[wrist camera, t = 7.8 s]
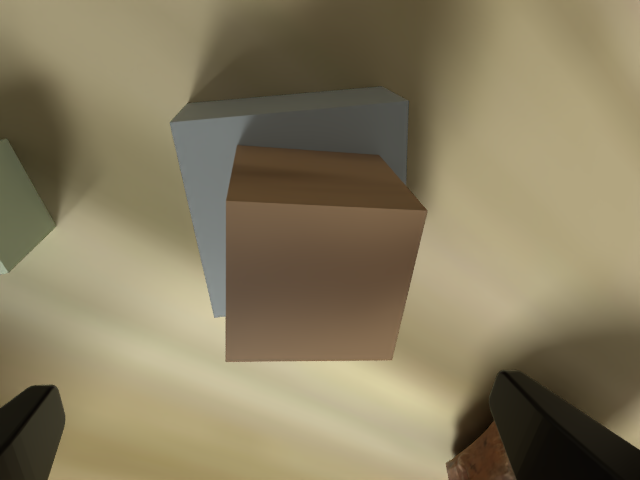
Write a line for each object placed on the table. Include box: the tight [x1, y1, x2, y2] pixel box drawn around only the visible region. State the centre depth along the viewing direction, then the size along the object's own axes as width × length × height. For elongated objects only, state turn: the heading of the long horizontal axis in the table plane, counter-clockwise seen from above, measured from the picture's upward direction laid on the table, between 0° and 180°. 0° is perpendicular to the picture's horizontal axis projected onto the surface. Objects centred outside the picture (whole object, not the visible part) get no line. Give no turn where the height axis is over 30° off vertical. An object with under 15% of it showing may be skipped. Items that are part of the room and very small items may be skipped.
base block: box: [170, 86, 409, 318], centre depth 18 cm, size 8×8×4 cm
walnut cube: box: [226, 145, 427, 362], centre depth 14 cm, size 5×5×5 cm
